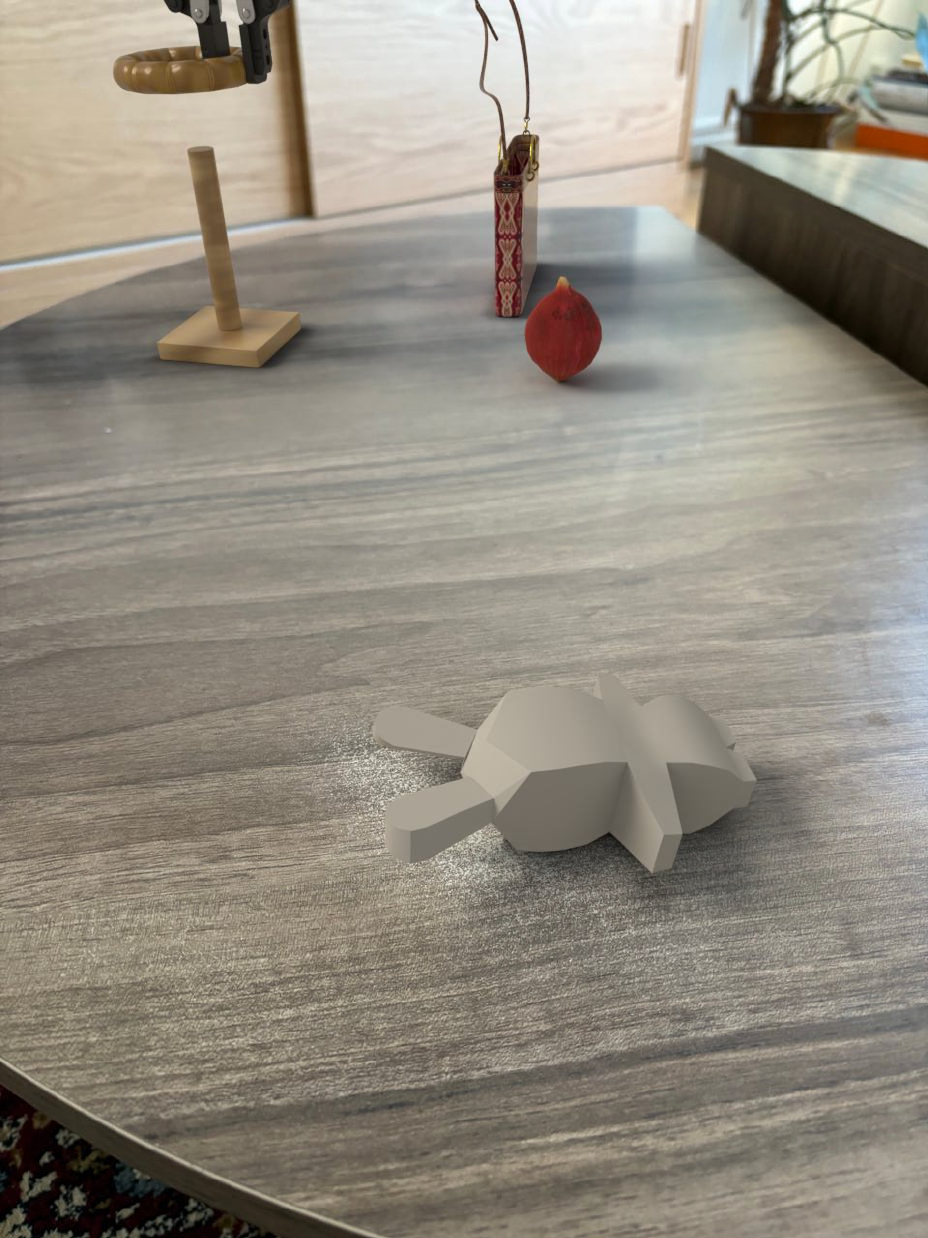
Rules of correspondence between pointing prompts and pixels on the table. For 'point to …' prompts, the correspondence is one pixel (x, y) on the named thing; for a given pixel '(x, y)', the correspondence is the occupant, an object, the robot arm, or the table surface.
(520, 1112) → the table surface
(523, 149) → the handbag
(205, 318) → the stand
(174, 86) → the ring
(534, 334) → the onion
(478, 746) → the bunny figurine
